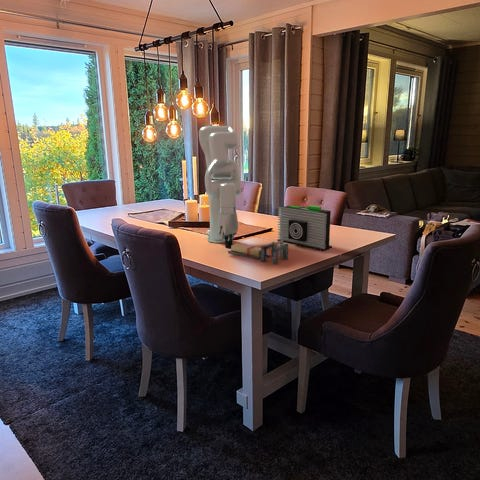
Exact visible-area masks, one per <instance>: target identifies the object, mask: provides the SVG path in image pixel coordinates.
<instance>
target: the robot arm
mask: <svg viewBox="0 0 480 480" xmlns="http://www.w3.org/2000/svg"><path fill="white" fill-rule="evenodd" d="M198 140H199V144H200V147H201V149H202V151H203V154H204V156H205V157H204V158H205V162H206V171H205V175H204V186H205V193H206V195H207V196H208V203H209V204H208V206H209V207H208V208H209V209H208V211H209V230H207V231H206V232H205V235H207V236H208V237H206V238H207V242H209V243H215V244H221V243H222V244H224V245H225V246H224V247H225V249H227V250H228V249H229V250H231V245H233V240H234V237H235V236H236V235H237V233H238V230H239V222H238V213H237V198H238V197H240V196H241V194H242V184H241V183H242V181H241V177H240V171H239V170H240V169H239V165H238V164H237V162H236V161H235V160H232V159H229V158H230V157H229V152H228V150H235V149H237V148H238V145H239V139H238V135H237V132H236V131H235V130H234V128H233V127H232V126H229V125H207V126H202V127H201V128H200V129H199V130H198Z"/></svg>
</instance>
